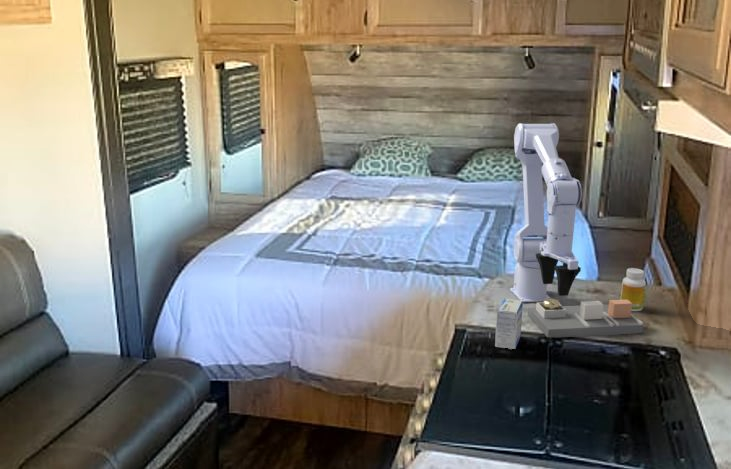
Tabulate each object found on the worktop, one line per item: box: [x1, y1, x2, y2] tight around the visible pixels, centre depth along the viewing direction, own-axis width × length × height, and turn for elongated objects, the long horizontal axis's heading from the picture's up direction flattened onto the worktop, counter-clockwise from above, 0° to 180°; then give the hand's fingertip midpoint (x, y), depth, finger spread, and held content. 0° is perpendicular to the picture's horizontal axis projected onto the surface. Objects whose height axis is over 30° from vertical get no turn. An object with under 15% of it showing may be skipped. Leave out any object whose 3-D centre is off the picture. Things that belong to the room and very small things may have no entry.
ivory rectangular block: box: [579, 300, 604, 320], centre depth 171 cm, size 2×4×4 cm, turn 98°
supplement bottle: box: [619, 267, 647, 312], centre depth 182 cm, size 5×5×10 cm
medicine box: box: [494, 298, 524, 350], centre depth 161 cm, size 8×4×9 cm, turn 160°
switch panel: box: [527, 301, 644, 339], centre depth 172 cm, size 13×22×4 cm, turn 98°
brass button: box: [542, 298, 560, 310], centre depth 173 cm, size 4×4×2 cm
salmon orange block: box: [608, 299, 633, 318], centre depth 172 cm, size 2×4×4 cm, turn 98°
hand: (555, 289), depth 171 cm, fingers open, 7 cm apart
